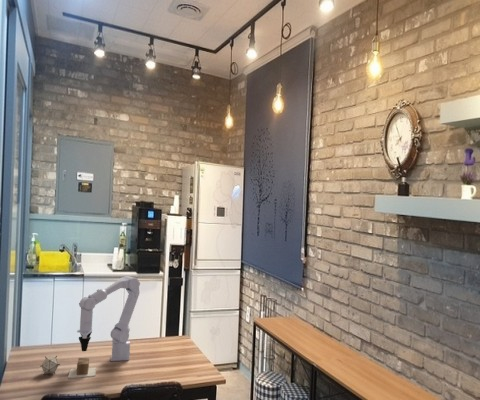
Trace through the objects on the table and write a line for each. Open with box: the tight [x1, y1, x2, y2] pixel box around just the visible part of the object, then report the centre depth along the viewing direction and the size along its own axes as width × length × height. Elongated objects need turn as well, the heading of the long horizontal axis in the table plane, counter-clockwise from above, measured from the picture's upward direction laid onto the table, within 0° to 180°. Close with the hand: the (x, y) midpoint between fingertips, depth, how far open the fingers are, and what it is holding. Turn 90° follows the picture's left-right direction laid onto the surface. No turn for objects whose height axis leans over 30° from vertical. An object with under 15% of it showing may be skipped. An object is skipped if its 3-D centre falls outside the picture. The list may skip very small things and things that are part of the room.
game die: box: [39, 355, 61, 376], centre depth 191 cm, size 9×8×10 cm
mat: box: [67, 367, 97, 379], centre depth 193 cm, size 12×10×1 cm
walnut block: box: [76, 356, 90, 375], centre depth 194 cm, size 5×5×9 cm
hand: (84, 348), depth 200 cm, fingers open, 7 cm apart
